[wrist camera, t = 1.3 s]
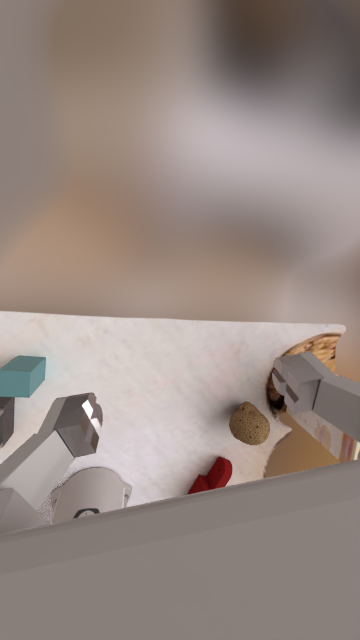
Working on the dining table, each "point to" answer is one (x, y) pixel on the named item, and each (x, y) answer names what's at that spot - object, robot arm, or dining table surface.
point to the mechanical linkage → (213, 477)
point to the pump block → (22, 376)
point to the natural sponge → (249, 424)
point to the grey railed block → (6, 419)
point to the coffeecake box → (328, 435)
